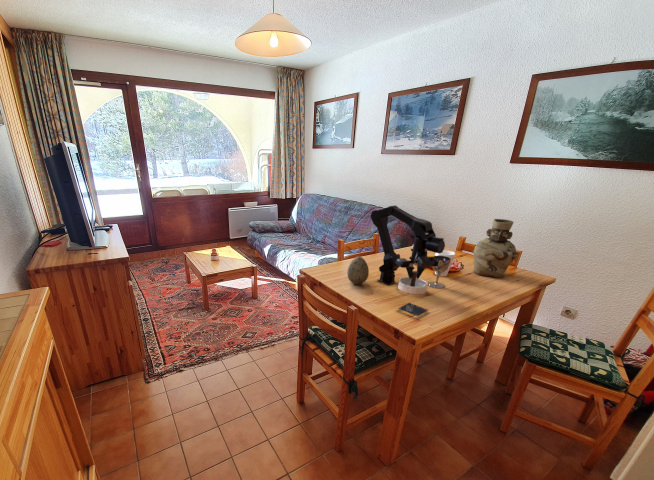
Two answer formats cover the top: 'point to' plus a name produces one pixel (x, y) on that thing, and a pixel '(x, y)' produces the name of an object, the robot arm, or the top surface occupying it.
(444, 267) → the wine glass
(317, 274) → the top surface
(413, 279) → the stirring stick
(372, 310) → the top surface
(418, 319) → the top surface
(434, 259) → the robot arm
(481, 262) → the ceramic vessel
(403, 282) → the bowl
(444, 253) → the foam cup
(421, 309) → the coaster
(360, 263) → the decorative egg
